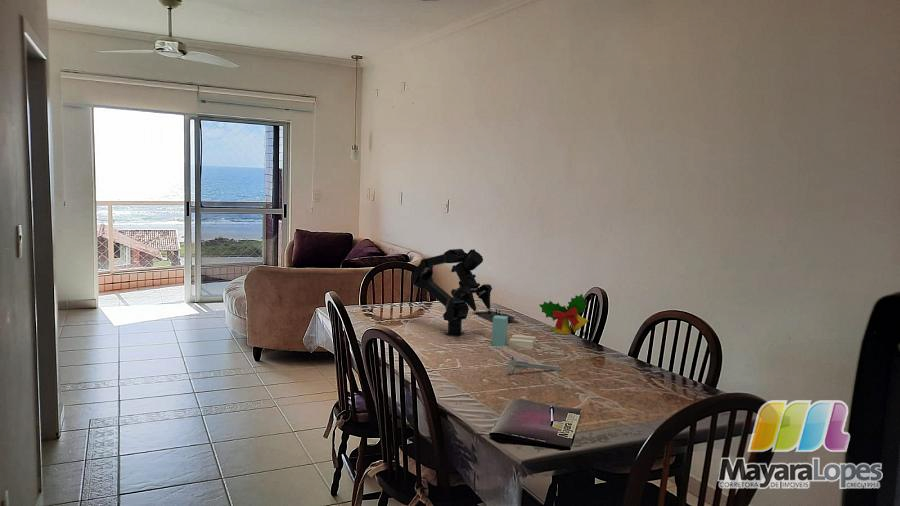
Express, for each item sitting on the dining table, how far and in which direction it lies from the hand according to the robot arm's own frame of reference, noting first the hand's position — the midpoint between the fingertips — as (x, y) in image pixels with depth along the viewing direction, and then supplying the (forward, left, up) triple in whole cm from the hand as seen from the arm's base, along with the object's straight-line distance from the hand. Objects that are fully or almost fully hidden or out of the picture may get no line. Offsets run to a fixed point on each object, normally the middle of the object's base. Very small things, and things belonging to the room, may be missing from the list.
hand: (482, 309), depth 251 cm
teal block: (+2, +8, -13) cm, 15 cm away
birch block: (+1, +17, -13) cm, 21 cm away
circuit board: (-46, -3, -14) cm, 48 cm away
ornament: (-29, +29, -13) cm, 43 cm away
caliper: (+33, +27, -13) cm, 44 cm away
